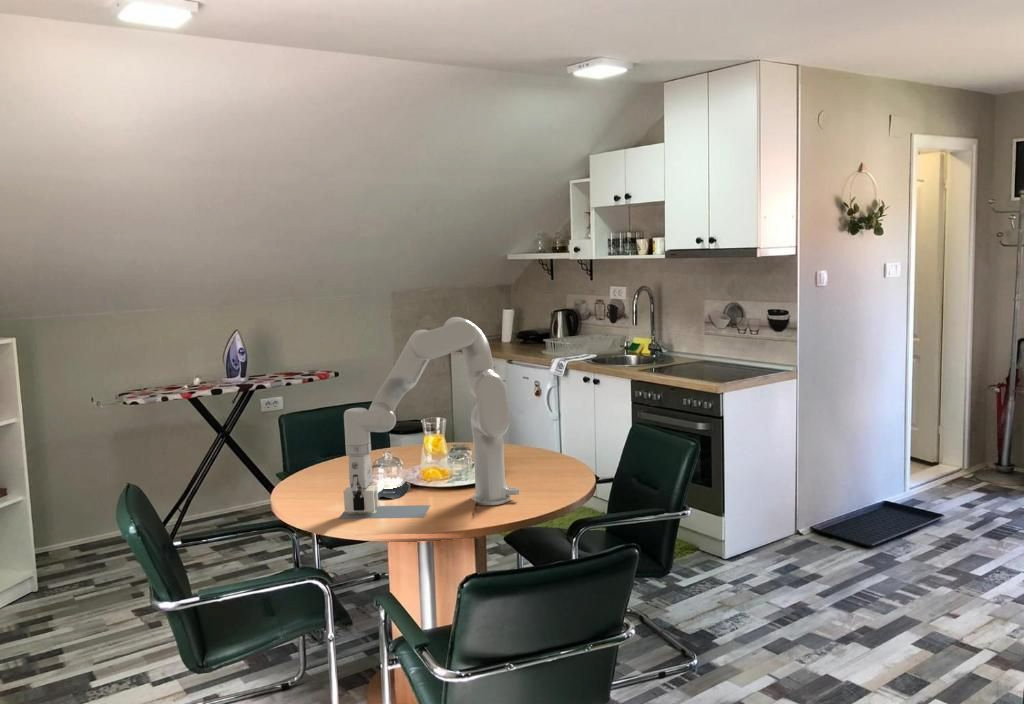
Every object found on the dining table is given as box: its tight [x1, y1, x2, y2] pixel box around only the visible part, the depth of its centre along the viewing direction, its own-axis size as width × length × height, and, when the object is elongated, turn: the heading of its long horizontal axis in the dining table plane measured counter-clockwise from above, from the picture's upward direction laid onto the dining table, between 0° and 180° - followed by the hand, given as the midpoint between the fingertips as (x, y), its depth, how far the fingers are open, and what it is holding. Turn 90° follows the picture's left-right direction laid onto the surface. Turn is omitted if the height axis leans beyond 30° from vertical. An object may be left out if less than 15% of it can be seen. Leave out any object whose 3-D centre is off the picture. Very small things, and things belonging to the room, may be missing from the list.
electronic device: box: [378, 482, 411, 501], centre depth 276 cm, size 9×6×15 cm
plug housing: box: [343, 485, 379, 512], centre depth 256 cm, size 9×6×6 cm, turn 86°
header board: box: [337, 504, 431, 520], centre depth 256 cm, size 26×12×6 cm, turn 86°
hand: (361, 506), depth 256 cm, fingers closed on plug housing, 5 cm apart
